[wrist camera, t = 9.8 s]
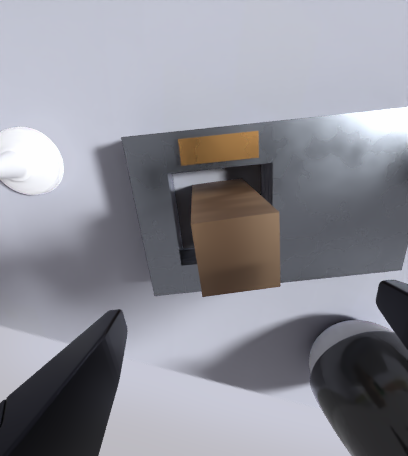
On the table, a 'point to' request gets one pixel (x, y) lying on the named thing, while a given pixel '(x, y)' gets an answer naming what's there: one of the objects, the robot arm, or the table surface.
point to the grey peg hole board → (286, 192)
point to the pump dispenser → (363, 386)
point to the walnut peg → (234, 238)
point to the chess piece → (29, 161)
